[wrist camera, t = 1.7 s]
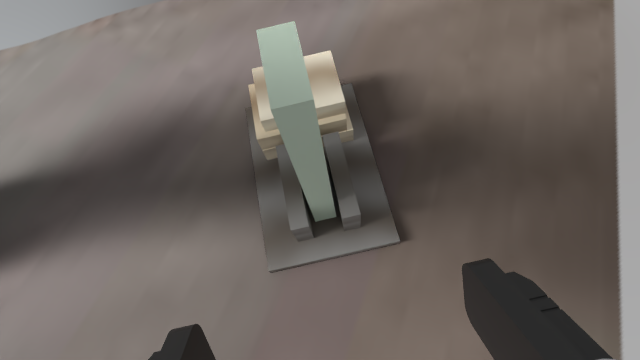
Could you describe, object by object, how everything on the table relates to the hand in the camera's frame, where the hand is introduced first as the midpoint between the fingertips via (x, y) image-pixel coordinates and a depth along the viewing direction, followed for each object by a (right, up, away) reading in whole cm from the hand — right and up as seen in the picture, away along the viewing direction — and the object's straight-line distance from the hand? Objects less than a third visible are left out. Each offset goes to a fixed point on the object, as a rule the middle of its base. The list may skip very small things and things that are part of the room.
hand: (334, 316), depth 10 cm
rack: (-1, +5, +25) cm, 25 cm away
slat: (0, +3, +23) cm, 23 cm away
